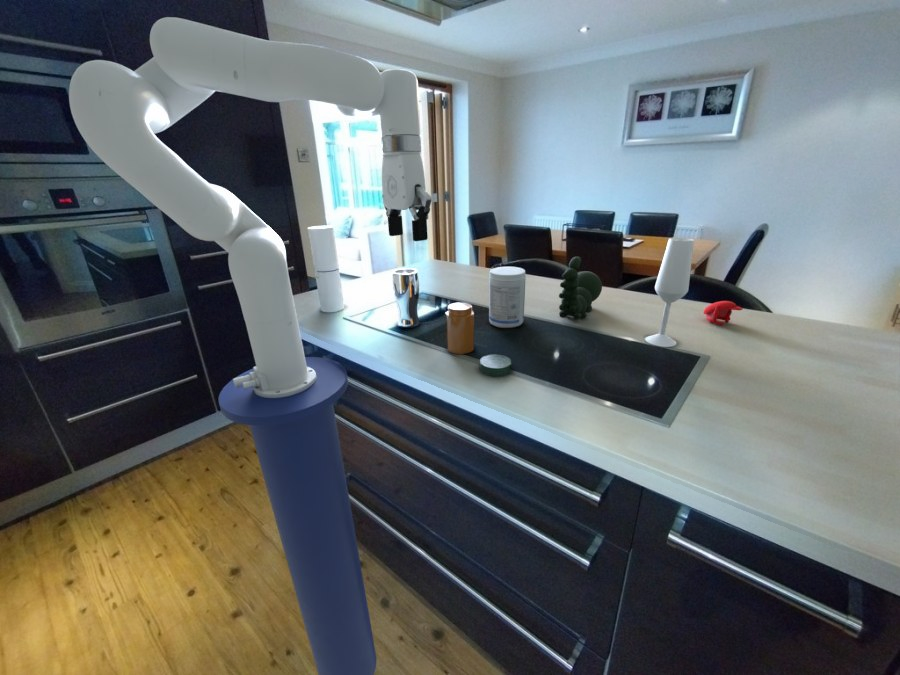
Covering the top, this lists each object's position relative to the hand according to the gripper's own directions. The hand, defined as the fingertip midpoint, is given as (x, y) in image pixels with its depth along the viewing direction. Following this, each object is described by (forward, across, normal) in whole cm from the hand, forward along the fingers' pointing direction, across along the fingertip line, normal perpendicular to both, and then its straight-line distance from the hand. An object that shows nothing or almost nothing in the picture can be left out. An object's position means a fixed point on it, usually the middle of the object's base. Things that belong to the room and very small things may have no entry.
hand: (407, 237), depth 82 cm
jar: (+26, +6, +9) cm, 28 cm away
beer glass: (+26, -16, +8) cm, 32 cm away
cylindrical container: (+26, -44, -3) cm, 51 cm away
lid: (+25, +19, +8) cm, 32 cm away
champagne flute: (+26, +34, +48) cm, 64 cm away
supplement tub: (+26, +1, +29) cm, 39 cm away
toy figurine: (+26, +9, +50) cm, 57 cm away
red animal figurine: (+26, +38, +71) cm, 85 cm away
